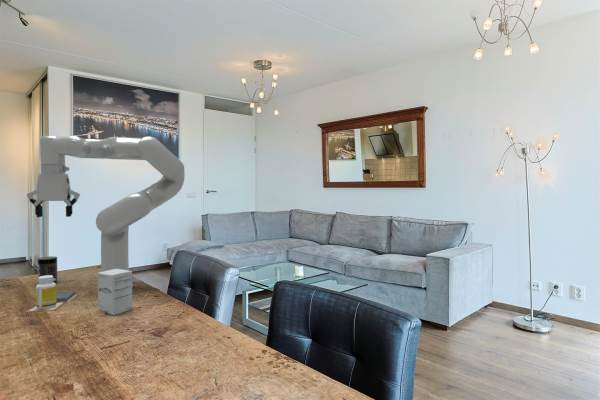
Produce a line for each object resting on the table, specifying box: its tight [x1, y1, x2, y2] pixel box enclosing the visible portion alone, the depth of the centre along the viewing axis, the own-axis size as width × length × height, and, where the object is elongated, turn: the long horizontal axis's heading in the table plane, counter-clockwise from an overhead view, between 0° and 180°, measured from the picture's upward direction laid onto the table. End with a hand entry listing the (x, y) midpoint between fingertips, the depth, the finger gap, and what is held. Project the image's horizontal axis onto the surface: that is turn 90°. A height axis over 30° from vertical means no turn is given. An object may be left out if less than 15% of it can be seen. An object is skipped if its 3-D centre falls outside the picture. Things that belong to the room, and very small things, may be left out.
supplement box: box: [97, 269, 133, 316], centre depth 123 cm, size 7×7×13 cm
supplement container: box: [37, 255, 59, 284], centre depth 157 cm, size 7×7×10 cm
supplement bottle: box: [35, 275, 57, 309], centre depth 124 cm, size 5×5×10 cm
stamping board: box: [23, 294, 77, 314], centre depth 128 cm, size 9×18×1 cm, turn 12°
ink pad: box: [56, 291, 76, 303], centre depth 133 cm, size 8×8×1 cm
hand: (54, 216), depth 142 cm, fingers open, 9 cm apart
